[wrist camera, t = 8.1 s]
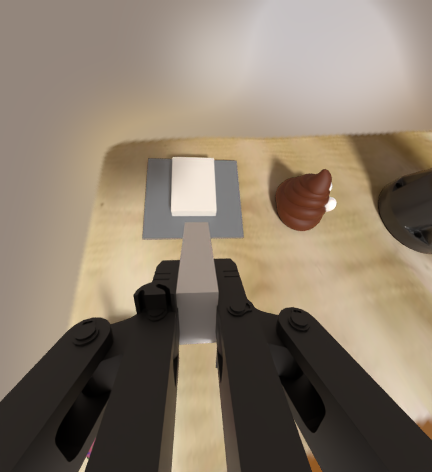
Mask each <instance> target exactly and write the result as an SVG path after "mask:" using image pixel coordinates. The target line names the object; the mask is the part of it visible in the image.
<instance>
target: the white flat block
mask: <svg viewBox="0 0 432 472" xmlns="http://www.w3.org/2000/svg"><path fill="white" fill-rule="evenodd" d="M216 211H217V208H216V189H215V170H214V158H196V157H172V193H171V213H172V216H216Z"/></svg>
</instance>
